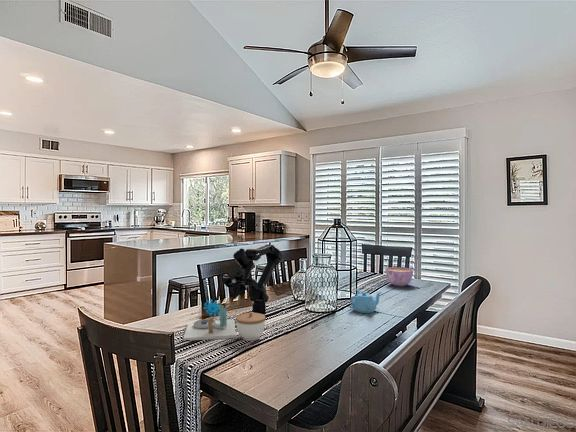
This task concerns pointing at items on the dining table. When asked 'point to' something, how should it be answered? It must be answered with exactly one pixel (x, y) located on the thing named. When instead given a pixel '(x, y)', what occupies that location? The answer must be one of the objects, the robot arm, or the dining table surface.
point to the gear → (212, 307)
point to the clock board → (206, 335)
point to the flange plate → (223, 321)
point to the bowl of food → (399, 275)
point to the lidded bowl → (250, 325)
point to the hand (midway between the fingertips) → (233, 298)
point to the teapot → (364, 302)
